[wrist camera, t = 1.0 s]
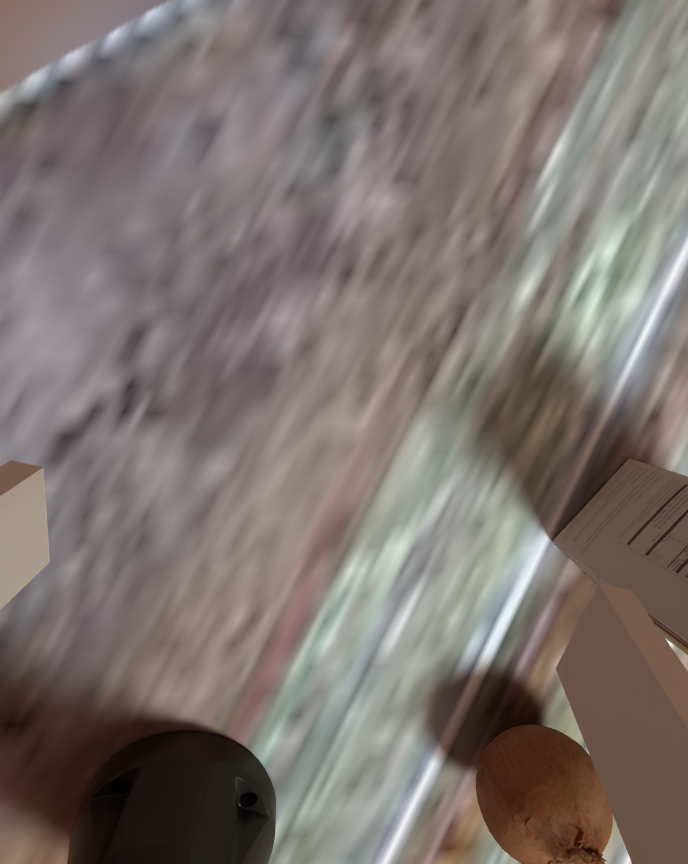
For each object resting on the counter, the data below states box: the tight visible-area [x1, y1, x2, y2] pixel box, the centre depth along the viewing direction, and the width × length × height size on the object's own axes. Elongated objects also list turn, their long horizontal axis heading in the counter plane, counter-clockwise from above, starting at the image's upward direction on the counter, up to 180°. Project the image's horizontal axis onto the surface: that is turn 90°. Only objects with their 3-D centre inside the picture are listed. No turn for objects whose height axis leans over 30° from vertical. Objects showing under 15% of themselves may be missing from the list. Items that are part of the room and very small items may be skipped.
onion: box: [476, 724, 613, 864], centre depth 36 cm, size 10×9×10 cm
